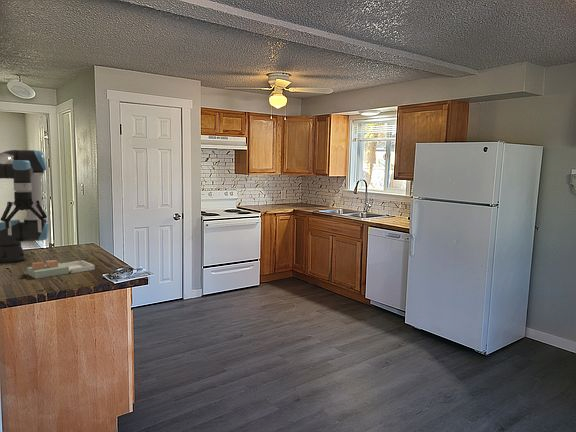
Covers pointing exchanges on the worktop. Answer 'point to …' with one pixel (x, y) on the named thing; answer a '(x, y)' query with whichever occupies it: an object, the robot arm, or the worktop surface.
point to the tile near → (38, 265)
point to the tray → (79, 266)
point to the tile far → (51, 263)
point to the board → (48, 271)
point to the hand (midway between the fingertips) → (25, 233)
